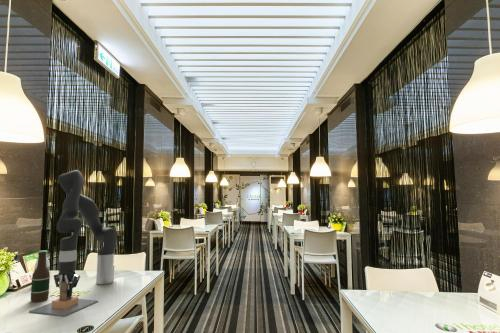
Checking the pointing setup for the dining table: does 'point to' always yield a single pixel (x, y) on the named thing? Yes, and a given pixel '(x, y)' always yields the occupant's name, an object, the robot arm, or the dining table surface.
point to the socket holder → (63, 306)
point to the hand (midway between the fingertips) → (65, 296)
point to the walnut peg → (64, 291)
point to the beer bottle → (40, 280)
